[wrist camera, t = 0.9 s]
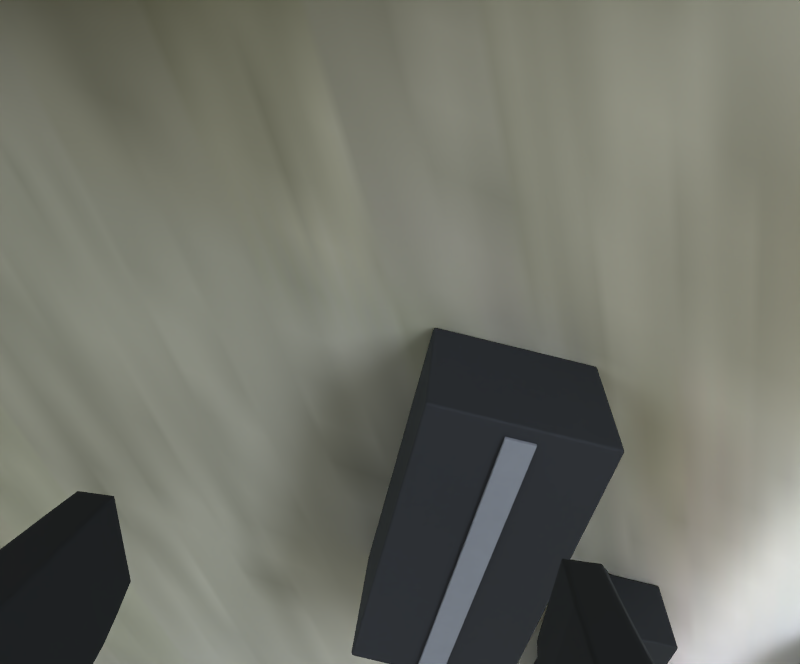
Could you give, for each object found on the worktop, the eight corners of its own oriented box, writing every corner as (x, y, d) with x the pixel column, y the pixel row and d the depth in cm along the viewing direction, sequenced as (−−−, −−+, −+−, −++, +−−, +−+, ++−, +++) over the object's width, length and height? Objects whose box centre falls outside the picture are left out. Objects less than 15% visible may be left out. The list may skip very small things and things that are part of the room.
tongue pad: (499, 588, 24) (504, 694, 20) (368, 557, 24) (350, 658, 20) (597, 366, 19) (626, 454, 15) (433, 326, 19) (425, 405, 15)
